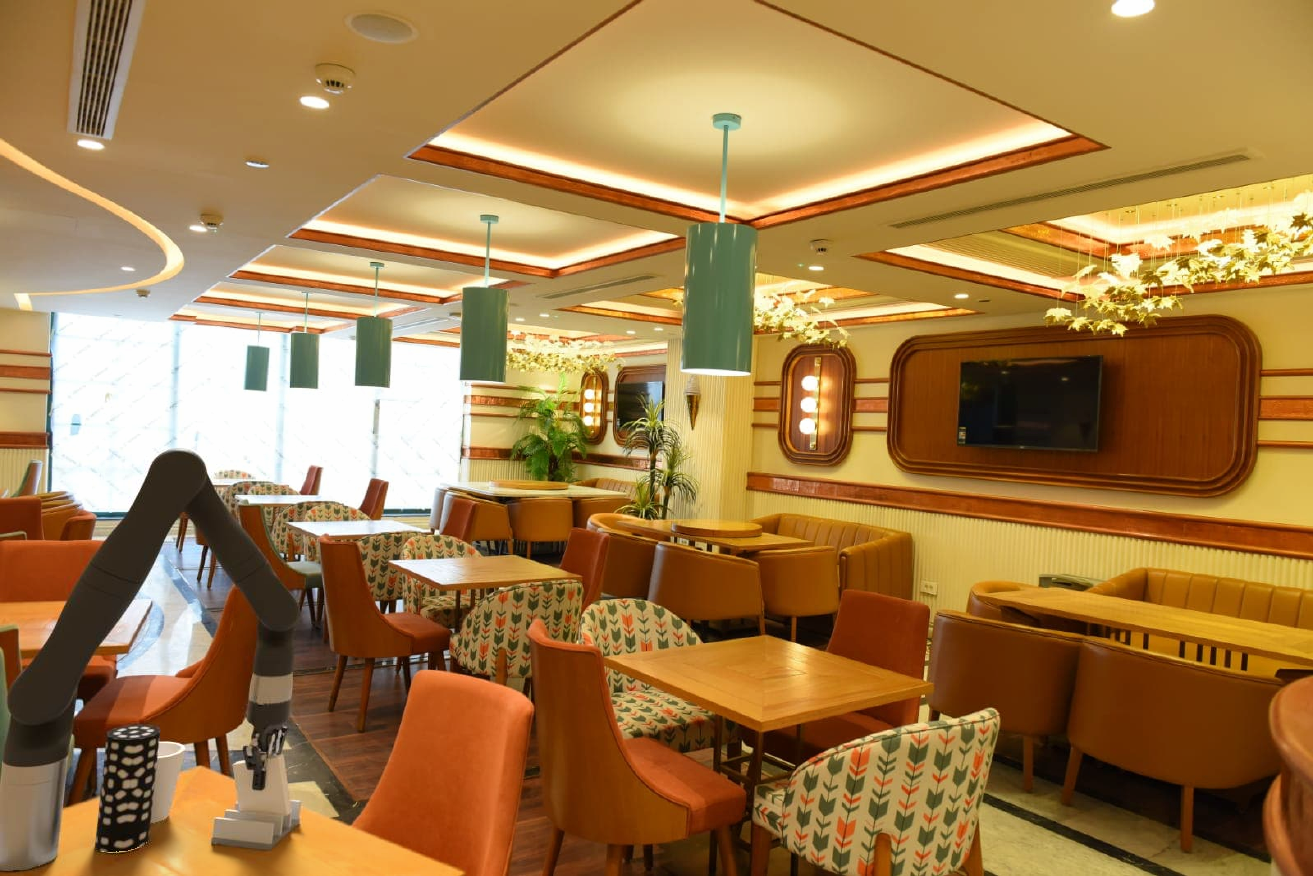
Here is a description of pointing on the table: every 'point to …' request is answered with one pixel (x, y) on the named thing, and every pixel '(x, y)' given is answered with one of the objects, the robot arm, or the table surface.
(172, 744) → the foam cup
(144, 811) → the spotted tube
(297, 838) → the table surface
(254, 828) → the dish rack
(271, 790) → the cream upright slab
